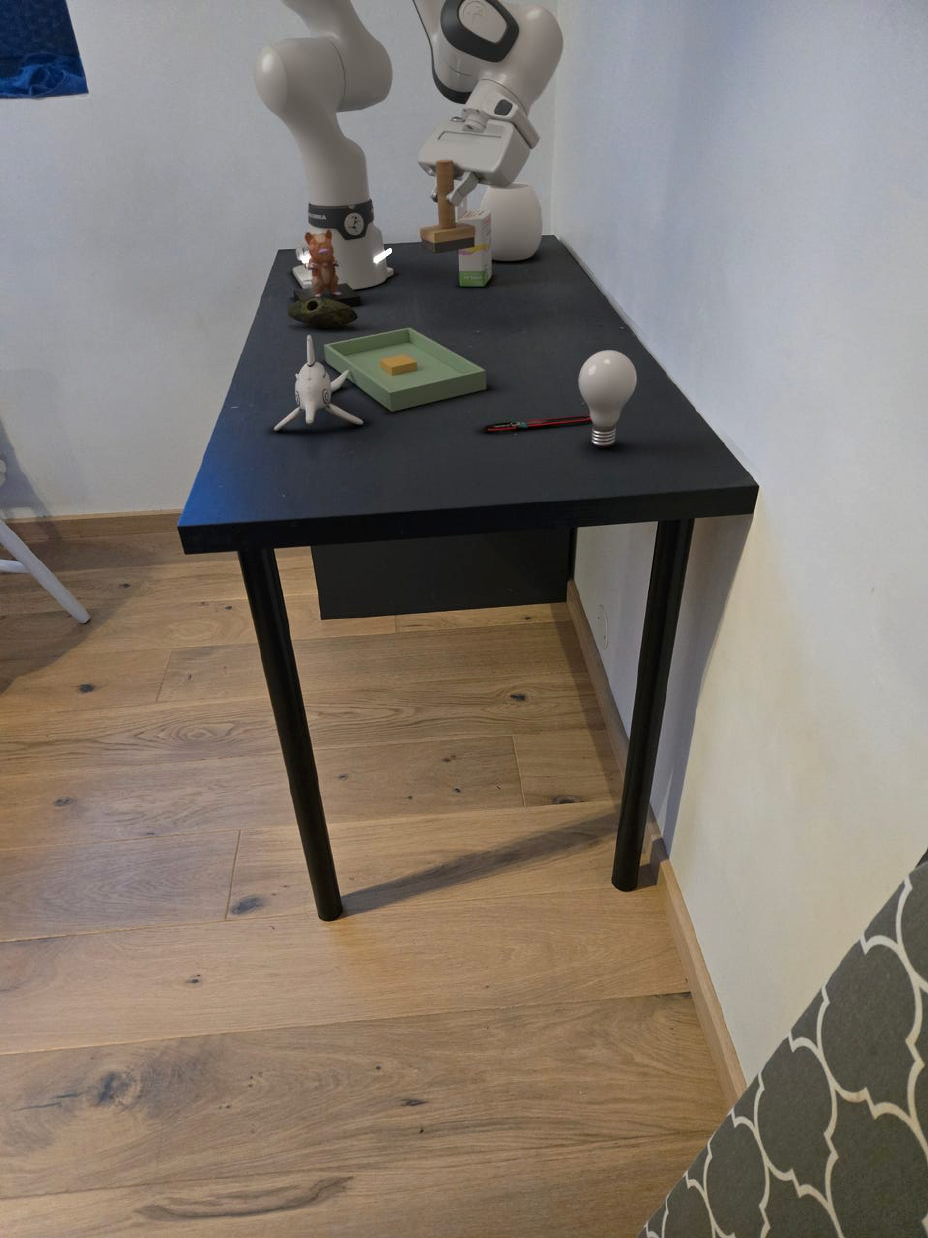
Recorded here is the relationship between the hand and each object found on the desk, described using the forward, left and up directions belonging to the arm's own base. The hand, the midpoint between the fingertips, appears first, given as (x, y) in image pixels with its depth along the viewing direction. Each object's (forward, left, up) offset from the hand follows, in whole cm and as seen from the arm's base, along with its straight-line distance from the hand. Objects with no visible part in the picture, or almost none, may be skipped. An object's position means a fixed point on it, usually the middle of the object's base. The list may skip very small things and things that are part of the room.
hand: (442, 201), depth 124 cm
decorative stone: (-12, -17, -19) cm, 28 cm away
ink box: (-22, +18, -19) cm, 33 cm away
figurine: (-26, -11, -19) cm, 34 cm away
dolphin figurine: (+25, -32, -19) cm, 44 cm away
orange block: (+15, -16, -18) cm, 29 cm away
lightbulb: (+51, -7, -19) cm, 55 cm away
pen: (+42, -10, -18) cm, 48 cm away
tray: (+16, -16, -18) cm, 30 cm away
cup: (-34, +33, -19) cm, 50 cm away
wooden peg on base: (0, +1, -7) cm, 7 cm away
